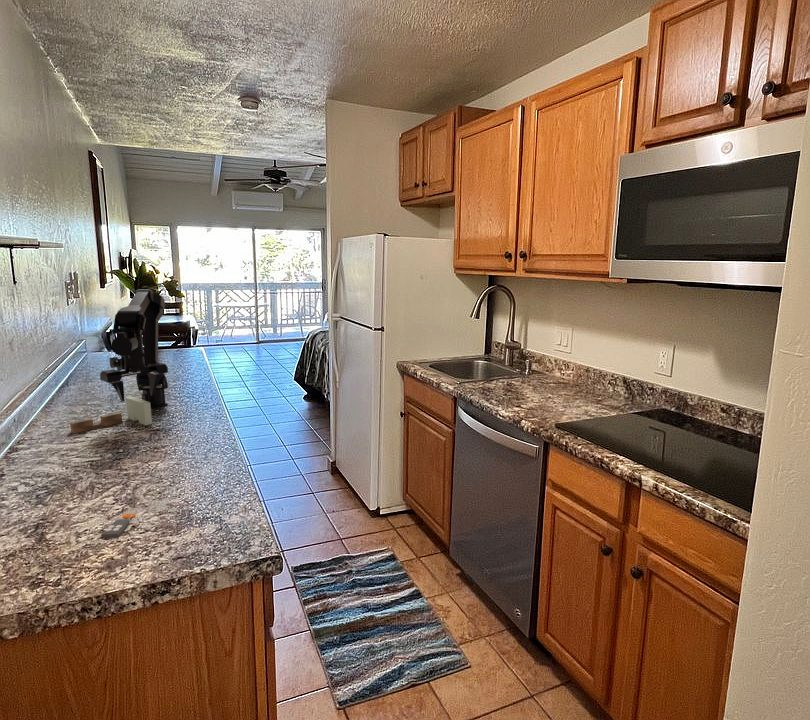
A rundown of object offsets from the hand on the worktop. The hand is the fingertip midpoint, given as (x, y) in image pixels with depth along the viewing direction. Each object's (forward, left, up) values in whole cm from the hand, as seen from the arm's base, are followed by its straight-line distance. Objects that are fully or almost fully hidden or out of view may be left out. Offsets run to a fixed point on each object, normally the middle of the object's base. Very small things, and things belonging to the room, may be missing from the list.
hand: (137, 398), depth 165 cm
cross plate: (0, 0, -8) cm, 8 cm away
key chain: (+33, +63, -8) cm, 72 cm away
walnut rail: (+11, -4, -8) cm, 14 cm away
